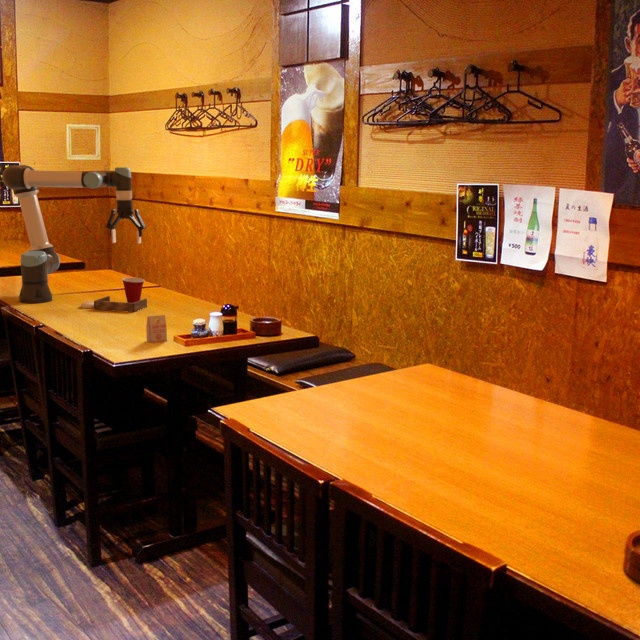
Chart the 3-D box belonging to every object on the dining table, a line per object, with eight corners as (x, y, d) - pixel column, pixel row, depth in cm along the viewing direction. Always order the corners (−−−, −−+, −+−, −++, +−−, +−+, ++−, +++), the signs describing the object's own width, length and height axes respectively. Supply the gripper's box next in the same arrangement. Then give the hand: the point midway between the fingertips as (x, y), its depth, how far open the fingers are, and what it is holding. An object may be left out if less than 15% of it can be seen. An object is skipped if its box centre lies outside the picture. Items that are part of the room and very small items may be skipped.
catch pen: (94, 309, 349) (93, 300, 348) (108, 304, 361) (107, 296, 360) (134, 312, 344) (134, 303, 344) (147, 307, 357) (146, 298, 356)
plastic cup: (142, 305, 360) (141, 280, 358) (119, 305, 361) (118, 280, 358) (148, 301, 371) (147, 277, 368) (126, 300, 371) (125, 276, 369)
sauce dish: (78, 308, 352) (77, 304, 351) (86, 305, 359) (86, 301, 359) (93, 309, 350) (93, 305, 350) (102, 306, 358) (102, 302, 357)
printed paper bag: (146, 341, 292) (146, 315, 290) (163, 339, 295) (163, 314, 293) (149, 343, 288) (148, 317, 286) (166, 341, 292) (166, 315, 290)
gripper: (151, 199, 370) (153, 242, 375) (105, 198, 376) (107, 241, 381) (144, 200, 363) (146, 244, 368) (97, 199, 369) (99, 243, 373)
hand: (126, 243), depth 374 cm, fingers open, 13 cm apart
